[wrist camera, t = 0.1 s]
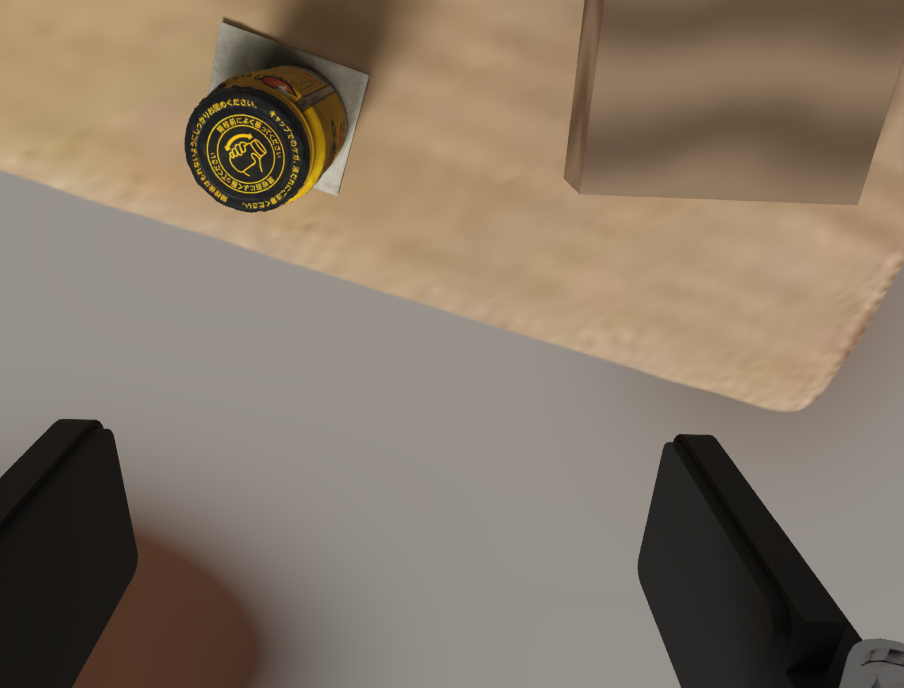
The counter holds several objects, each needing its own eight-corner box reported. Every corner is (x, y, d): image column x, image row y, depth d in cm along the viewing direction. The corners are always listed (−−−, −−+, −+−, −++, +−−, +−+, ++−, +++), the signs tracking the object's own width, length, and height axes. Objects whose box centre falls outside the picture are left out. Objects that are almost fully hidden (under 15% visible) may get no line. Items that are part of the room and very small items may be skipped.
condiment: (337, 195, 40) (303, 252, 29) (199, 150, 39) (109, 193, 28) (369, 74, 37) (345, 88, 26) (221, 21, 36) (131, 13, 25)
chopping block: (610, -234, 32) (641, -279, 27) (921, -211, 33) (1000, -251, 28) (562, 176, 40) (579, 194, 36) (810, 187, 41) (857, 205, 37)
